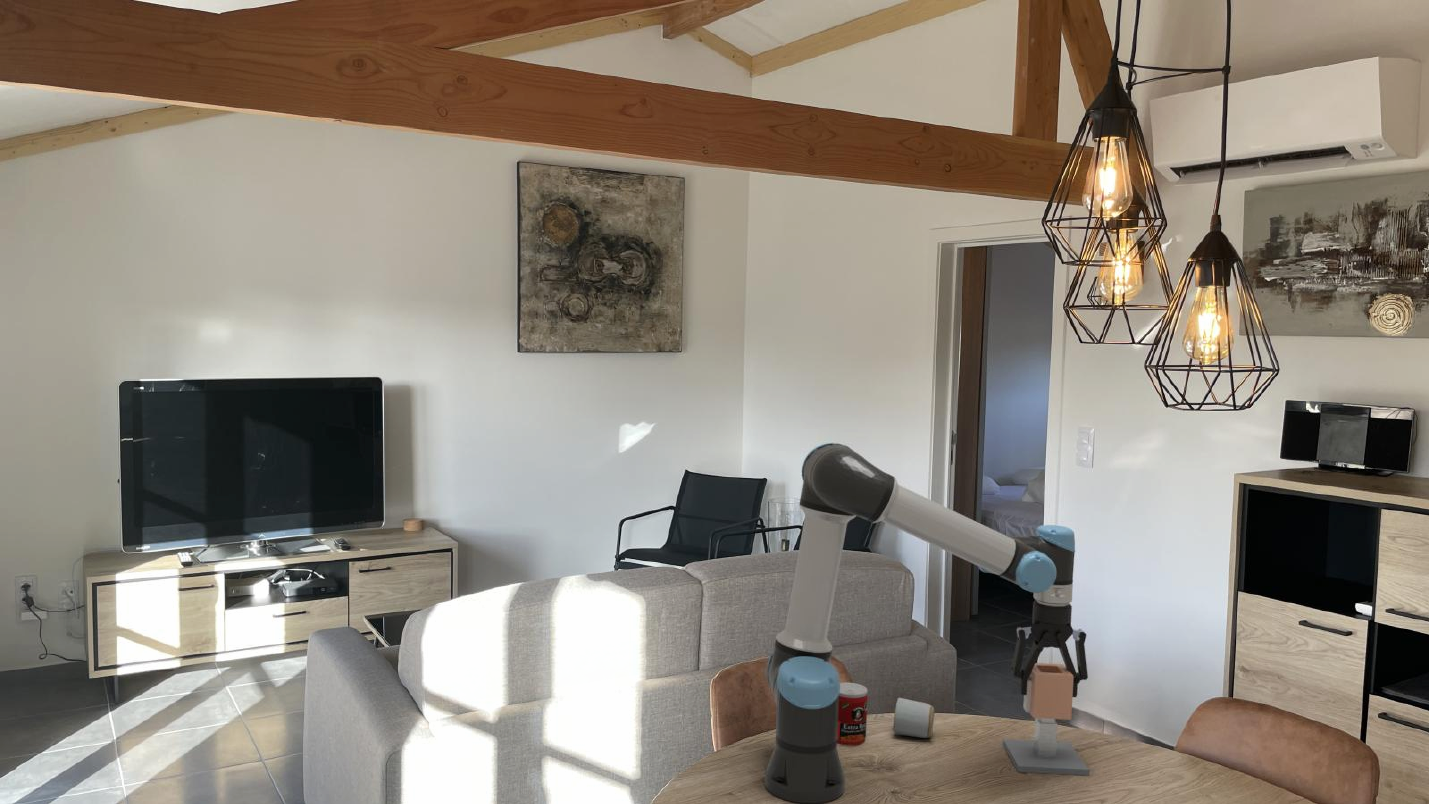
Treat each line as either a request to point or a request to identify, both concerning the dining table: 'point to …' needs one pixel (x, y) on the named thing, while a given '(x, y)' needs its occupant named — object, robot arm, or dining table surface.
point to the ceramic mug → (913, 718)
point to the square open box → (1051, 691)
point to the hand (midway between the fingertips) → (1047, 710)
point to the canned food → (852, 714)
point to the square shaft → (1045, 737)
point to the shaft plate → (1045, 758)
